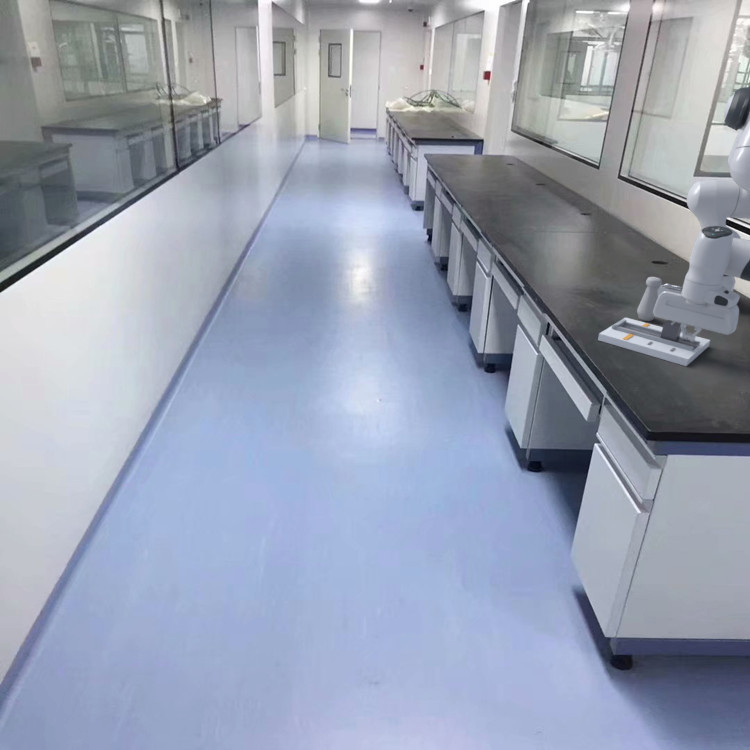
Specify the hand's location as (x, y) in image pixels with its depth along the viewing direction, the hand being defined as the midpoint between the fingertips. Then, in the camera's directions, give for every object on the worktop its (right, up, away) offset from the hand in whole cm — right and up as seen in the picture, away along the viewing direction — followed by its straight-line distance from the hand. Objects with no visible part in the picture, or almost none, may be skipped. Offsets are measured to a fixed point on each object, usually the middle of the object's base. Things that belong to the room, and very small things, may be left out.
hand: (687, 340), depth 167 cm
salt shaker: (-1, +8, +24) cm, 25 cm away
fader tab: (-3, 0, +3) cm, 5 cm away
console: (-6, 0, +7) cm, 9 cm away
